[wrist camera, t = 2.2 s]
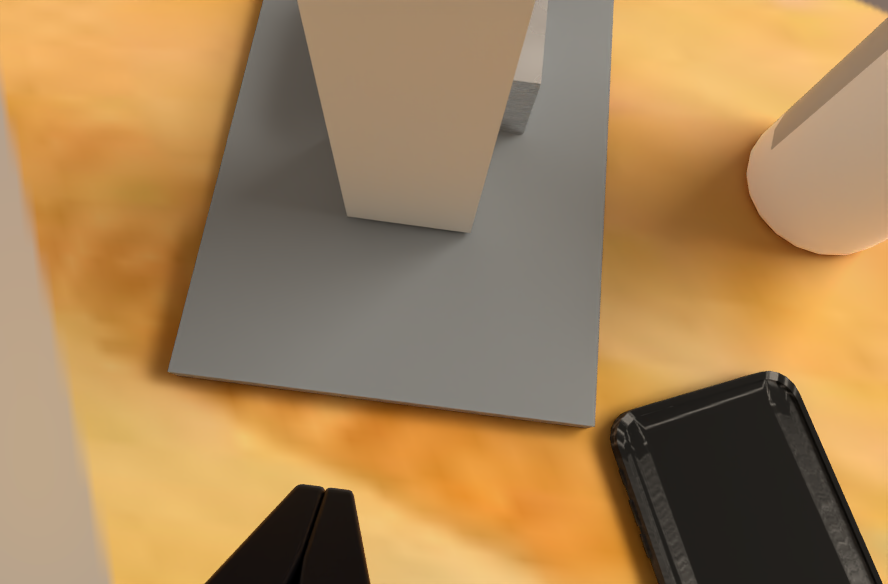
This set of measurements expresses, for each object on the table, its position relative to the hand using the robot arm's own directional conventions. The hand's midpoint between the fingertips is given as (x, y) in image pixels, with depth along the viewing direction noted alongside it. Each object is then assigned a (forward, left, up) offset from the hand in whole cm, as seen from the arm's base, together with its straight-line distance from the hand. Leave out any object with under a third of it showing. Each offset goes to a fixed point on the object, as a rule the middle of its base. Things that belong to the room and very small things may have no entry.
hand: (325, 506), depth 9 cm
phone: (-2, -15, -14) cm, 21 cm away
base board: (+13, 0, -14) cm, 19 cm away
